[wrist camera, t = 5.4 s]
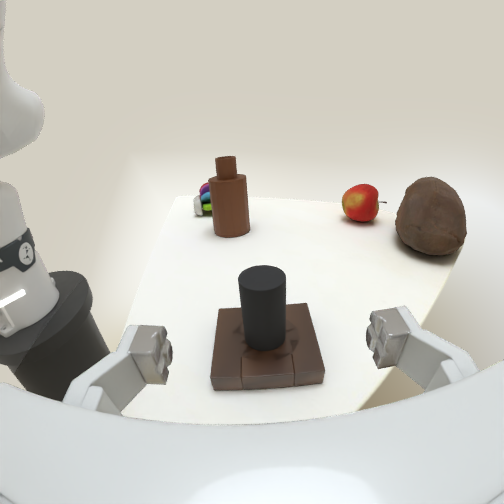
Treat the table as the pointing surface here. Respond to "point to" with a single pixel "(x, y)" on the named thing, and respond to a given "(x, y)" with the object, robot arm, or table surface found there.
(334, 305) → the table surface
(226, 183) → the bottle
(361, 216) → the apple
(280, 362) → the dark brown square mat
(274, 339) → the cylinder
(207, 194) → the rainbow disc toy
